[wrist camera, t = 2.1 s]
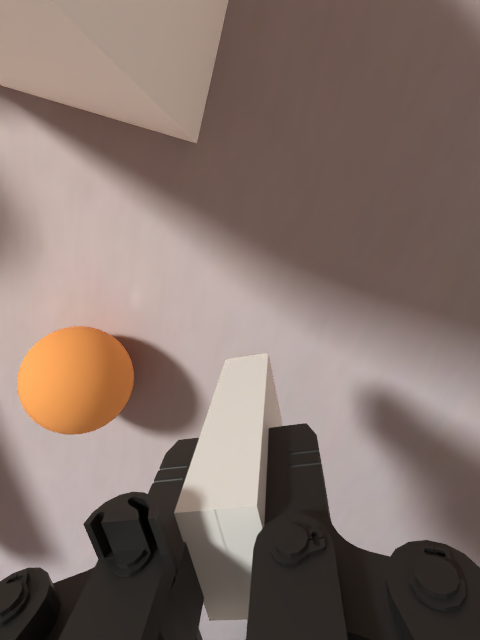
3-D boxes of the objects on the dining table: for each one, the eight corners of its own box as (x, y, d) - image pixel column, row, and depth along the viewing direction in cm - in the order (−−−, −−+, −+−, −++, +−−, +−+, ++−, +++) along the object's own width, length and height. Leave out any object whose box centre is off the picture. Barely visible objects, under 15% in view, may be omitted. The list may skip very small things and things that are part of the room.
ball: (158, 392, 22) (121, 451, 17) (76, 405, 23) (16, 464, 18) (132, 306, 20) (83, 340, 15) (45, 322, 21) (-30, 360, 16)
